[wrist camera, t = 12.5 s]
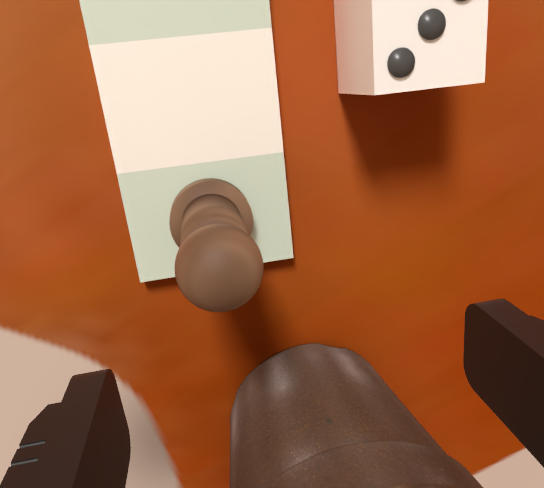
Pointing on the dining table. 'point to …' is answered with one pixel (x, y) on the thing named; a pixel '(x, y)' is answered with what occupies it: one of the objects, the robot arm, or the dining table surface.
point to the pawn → (215, 245)
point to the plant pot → (330, 428)
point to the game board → (190, 114)
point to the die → (409, 44)
